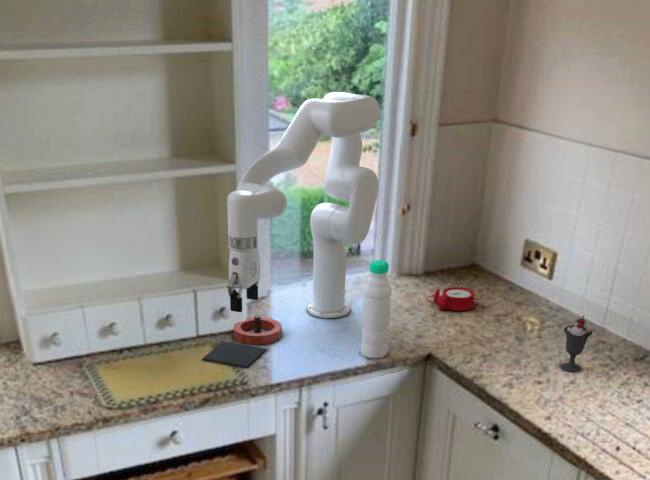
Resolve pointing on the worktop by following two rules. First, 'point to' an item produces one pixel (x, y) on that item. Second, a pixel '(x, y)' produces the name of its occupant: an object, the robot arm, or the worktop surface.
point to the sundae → (575, 343)
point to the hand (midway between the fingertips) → (244, 305)
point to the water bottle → (376, 312)
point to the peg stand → (257, 325)
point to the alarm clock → (454, 299)
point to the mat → (234, 354)
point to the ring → (257, 338)
